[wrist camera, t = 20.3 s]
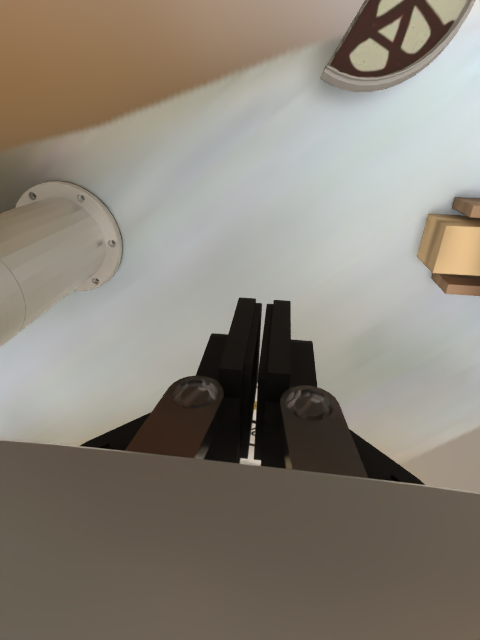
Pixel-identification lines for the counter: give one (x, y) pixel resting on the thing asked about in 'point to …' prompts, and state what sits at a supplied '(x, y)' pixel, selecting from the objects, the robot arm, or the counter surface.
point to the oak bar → (451, 244)
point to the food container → (393, 42)
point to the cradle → (454, 281)
